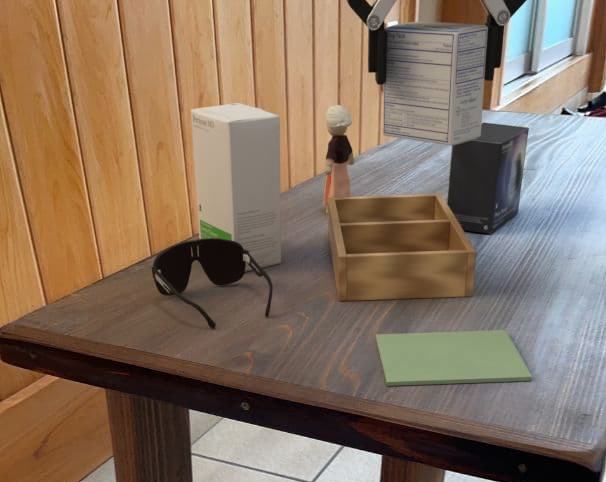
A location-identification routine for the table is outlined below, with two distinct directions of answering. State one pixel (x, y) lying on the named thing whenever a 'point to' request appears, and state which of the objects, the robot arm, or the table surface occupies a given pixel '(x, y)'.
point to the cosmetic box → (239, 178)
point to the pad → (450, 358)
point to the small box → (487, 177)
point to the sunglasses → (204, 267)
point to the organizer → (398, 248)
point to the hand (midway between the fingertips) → (433, 79)
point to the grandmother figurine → (337, 154)
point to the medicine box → (434, 81)
